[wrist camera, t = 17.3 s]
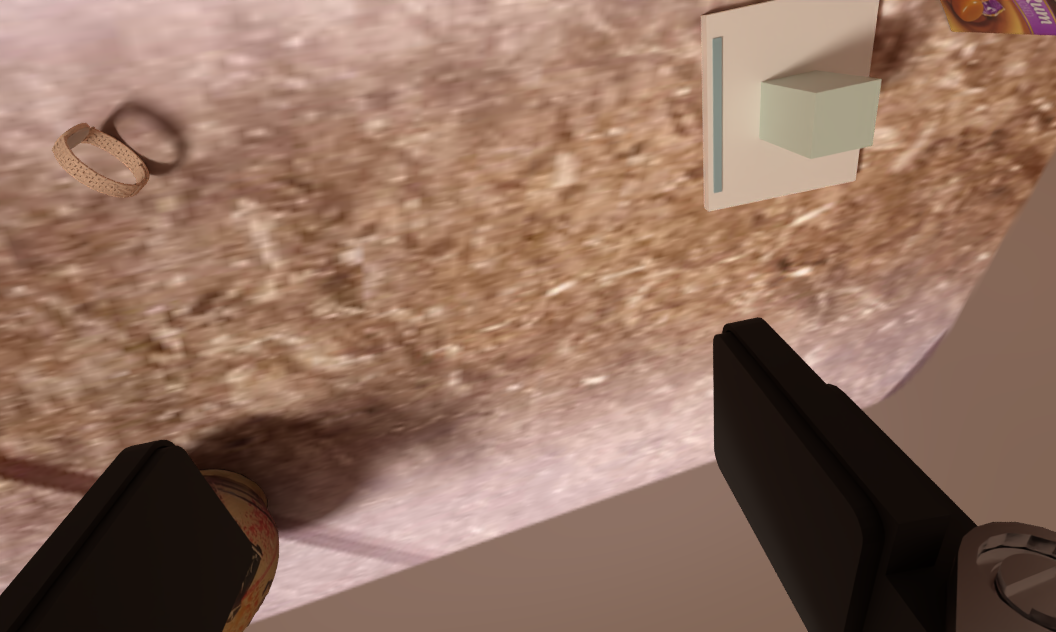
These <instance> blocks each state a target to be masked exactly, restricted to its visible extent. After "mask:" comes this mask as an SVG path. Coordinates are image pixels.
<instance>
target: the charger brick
mask: <svg viewBox="0 0 1056 632" xmlns="http://www.w3.org/2000/svg"><path fill="white" fill-rule="evenodd" d="M881 80H882V79H879V78H871V77H863V76H856V75H848V74H841V73H833V72H825V71H818V70H815V71H810V72H805V73H801V74H796V75H792V76H787V77H783V78H778V79H773V80H769V81H764V82H761V98H760V128H759V139H762V140H764V141H767V142H769V143H772V144H774V145H777V146H779V147H782V148H784V149H787V150H789V151H792V152H794V153H797V154H799V155H802V156H804V157H807V158H809V159H813V158H818V157H823V156H827V155H832V154H837V153H841V152H846V151H851V150H855V149H860V148H865V147H869V146H872V144H873V137H874V130H875V123H876V116H877V109H878V102H879V94H880V87H881Z"/></svg>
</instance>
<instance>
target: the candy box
mask: <svg viewBox="0 0 1056 632" xmlns="http://www.w3.org/2000/svg"><path fill="white" fill-rule="evenodd" d="M940 1H941V3H942V6H943V8H944V11H945V13H946V16H947V19H948V22H949V25H950V28H951V31H953V32H981V33H1004V34H1032V35H1056V0H940Z"/></svg>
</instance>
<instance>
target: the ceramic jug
mask: <svg viewBox="0 0 1056 632" xmlns="http://www.w3.org/2000/svg"><path fill="white" fill-rule="evenodd" d="M200 472H201V473H202V475H203V476H204V478H205V479H206V480H207V482H208V483H209V485H210V486H211V487H212V489H213V490H214V492H215V493H216V494H217V496H218V497H219V499H220V500H221V501H222V503H223V504H224V505H225V507H226V508H227V510H228V511H229V512H230V514H231V515H232V517H233V518H234V519H235V521H236V522H237V524H238V525H239V526H240V528H241V529H242V530H243V532H244V533H245V535H246V536H247V537H248V539H249V540H250V542H251V544H252V548H253V558H252V562H251V565H250V567H249V570H248V572H247V575H246V577H245V579H244V582H243V584H242V586H241V589H240V591H239V593H238V596H237V598H236V601H235V603H234V605H233V608H232V610H231V612H230V615H229V617H228V619H227V622H226V624H225V627H224V629H223V631H222V632H243V631H244V629H245V628H246V627H247V626H248V625H249V624H250V622H251V620H252V618H253V617H254V615H255V613H256V612H257V611H258V610H259V607H260V606H261V605H262V603H263V601H264V599H265V597H266V595H267V594H268V592H269V590H270V587H271V585H272V582H273V579H274V576H275V573H276V569H277V564H278V558H279V536H278V530H277V527H276V524H275V522H274V520H273V518H272V516H271V515H270V513H269V511H268V509H267V503H268V500H267V498H266V496H265V494H264V492H263V491H262V489H261V488H260V487H259V486H258V485H257V484H256V483H255V482H253V481H251V480H249V479H248V478H246V477H244V476H243V475H241V474H238V473H235V472H230V471H226V470H220V469H211V470H200Z"/></svg>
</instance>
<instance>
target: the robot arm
mask: <svg viewBox="0 0 1056 632" xmlns="http://www.w3.org/2000/svg"><path fill="white" fill-rule="evenodd" d="M713 381H714V452H715V457H716V460H717V463H718V466H719V468H720V470H721V472H722V474H723V476H724V478H725V480H726V481H727V483H728V485H729V487H730V489H731V491H732V492H733V494H734V496H735V498H736V500H737V502H738V503H739V505H740V507H741V509H742V511H743V513H744V515H745V516H746V518H747V520H748V522H749V524H750V525H751V527H752V529H753V531H754V533H755V534H756V536H757V538H758V540H759V542H760V544H761V546H762V548H763V549H764V551H765V553H766V555H767V557H768V559H769V560H770V562H771V564H772V566H773V568H774V570H775V572H776V573H777V575H778V577H779V579H780V581H781V582H782V584H783V586H784V588H785V590H786V592H787V594H788V595H789V597H790V599H791V601H792V603H793V604H794V606H795V608H796V610H797V612H798V614H799V616H800V617H801V619H802V621H803V623H804V625H805V627H806V628H807V630H808V632H1056V532H1054V531H1051V530H1049V529H1046V528H1043V527H1039V526H1034V525H1029V524H1024V523H1019V522H991V523H988V524H984V525H981V526H977V525H976V524H975V523H974V522H973V521H972V520H971V519H970V518H969V517H968V516H967V515H966V514H965V513H964V512H963V511H962V510H961V509H960V508H959V507H958V506H957V505H956V504H955V503H954V502H953V501H952V500H951V499H950V498H949V497H948V496H947V495H946V494H945V493H944V492H943V491H942V490H941V489H940V488H939V487H938V486H937V485H936V484H935V483H934V482H933V481H932V480H931V479H930V478H929V477H928V476H927V475H926V474H925V473H924V472H923V471H922V470H921V469H920V468H919V467H918V466H917V465H916V464H915V463H914V462H913V461H912V460H911V459H910V458H909V457H908V456H907V455H906V454H905V453H904V452H903V451H902V450H901V449H900V448H899V447H898V446H897V445H896V444H895V443H894V442H893V441H892V440H891V439H890V438H889V437H888V436H887V435H886V434H885V433H884V432H883V431H882V430H881V429H880V428H879V427H878V426H877V425H876V424H875V423H874V422H873V421H872V420H871V419H870V418H869V417H868V416H867V415H866V414H865V413H864V412H863V411H862V410H861V409H860V408H859V407H858V406H857V405H856V404H855V403H854V402H853V401H852V400H851V399H850V398H849V397H848V396H847V395H846V394H845V393H844V392H843V391H842V390H841V389H839V388H838V387H837V386H834V385H831V384H826V383H825V382H824V381H823V380H822V379H821V378H820V377H819V376H818V375H817V374H816V373H815V372H814V371H813V370H812V369H811V368H810V367H809V366H808V365H807V364H806V363H805V362H804V360H803V359H802V358H801V357H800V356H799V355H798V354H797V353H796V352H795V351H794V350H793V349H792V348H791V347H790V346H789V345H788V344H787V343H786V342H785V341H784V340H783V339H782V338H781V337H780V336H779V335H778V334H777V333H776V332H775V331H774V330H773V329H772V328H771V327H770V325H769V324H768V323H767V322H766V321H765V320H763V319H762V318H758V317H757V318H753V319H748V320H743V321H738V322H733V323H728V324H726V325H724V327H723V331H722V334H717V335H715V336H714V339H713ZM252 558H253V548H252V544H251V542H250V540H249V539H248V537H247V536H246V535H245V533H244V532H243V530H242V529H241V528H240V526H239V525H238V524H237V522H236V521H235V519H234V518H233V517H232V515H231V514H230V512H229V511H228V510H227V508H226V507H225V505H224V504H223V503H222V501H221V500H220V499H219V497H218V496H217V494H216V493H215V492H214V490H213V489H212V487H211V486H210V485H209V483H208V482H207V480H206V479H205V478H204V476H203V475H202V473H201V472H200V471H199V469H198V468H197V467H196V465H195V464H194V462H193V461H192V460H191V458H190V457H189V455H188V454H187V453H186V451H185V450H184V449H183V448H182V447H179V446H175V445H174V444H173V443H172V442H170V441H168V440H158V441H153V442H148V443H143V444H139V445H134V446H130V447H128V448H125V449H124V450H123V451H122V452H121V453H120V454H119V455H118V456H117V457H116V458H115V460H114V461H113V462H112V463H111V464H110V466H109V467H108V468H107V469H106V470H105V472H104V473H103V474H102V475H101V476H100V477H99V479H98V480H97V481H96V482H95V483H94V485H93V486H92V487H91V488H90V489H89V491H88V492H87V493H86V494H85V495H84V497H83V498H82V499H81V500H80V501H79V502H78V504H77V505H76V506H75V507H74V508H73V510H72V511H71V512H70V513H69V514H68V516H67V517H66V518H65V519H64V520H63V522H62V523H61V524H60V525H59V526H58V527H57V529H56V530H55V531H54V532H53V533H52V535H51V536H50V537H49V538H48V539H47V541H46V542H45V543H44V544H43V545H42V546H41V548H40V549H39V550H38V551H37V552H36V554H35V555H34V556H33V557H32V558H31V560H30V561H29V562H28V563H27V564H26V566H25V567H24V568H23V569H22V570H21V571H20V573H19V574H18V575H17V576H16V577H15V579H14V580H13V581H12V582H11V583H10V585H9V586H8V587H7V588H6V589H5V591H4V592H3V593H2V594H1V595H0V632H222V631H223V629H224V627H225V624H226V622H227V619H228V617H229V615H230V612H231V610H232V608H233V605H234V603H235V601H236V598H237V596H238V593H239V591H240V589H241V586H242V584H243V582H244V579H245V577H246V575H247V572H248V570H249V567H250V565H251V562H252Z"/></svg>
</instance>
